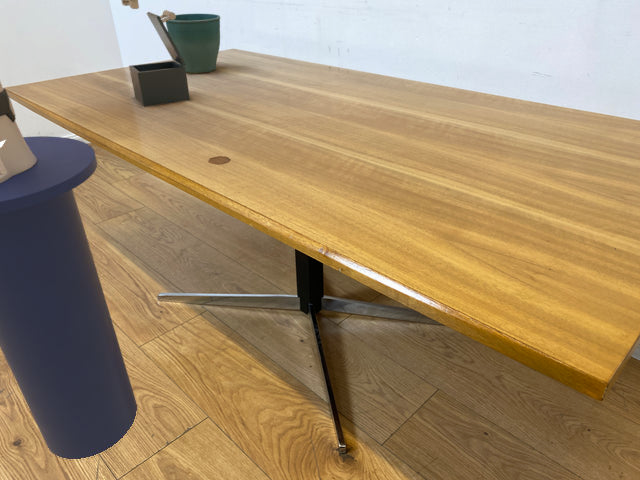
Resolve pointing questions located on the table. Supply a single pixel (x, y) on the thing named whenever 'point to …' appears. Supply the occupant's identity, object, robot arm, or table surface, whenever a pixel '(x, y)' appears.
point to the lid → (166, 34)
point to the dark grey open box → (159, 83)
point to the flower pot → (196, 40)
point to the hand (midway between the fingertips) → (130, 7)
